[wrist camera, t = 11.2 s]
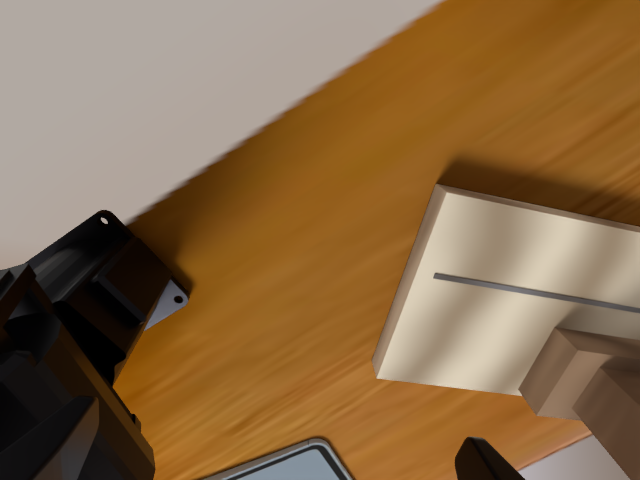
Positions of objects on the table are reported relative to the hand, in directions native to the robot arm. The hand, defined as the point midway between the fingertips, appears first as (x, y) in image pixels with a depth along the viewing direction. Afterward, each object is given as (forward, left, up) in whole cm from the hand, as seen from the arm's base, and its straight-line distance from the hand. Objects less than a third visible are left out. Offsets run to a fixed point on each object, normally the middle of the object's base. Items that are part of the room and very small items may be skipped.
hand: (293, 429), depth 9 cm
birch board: (+10, -12, -12) cm, 20 cm away
